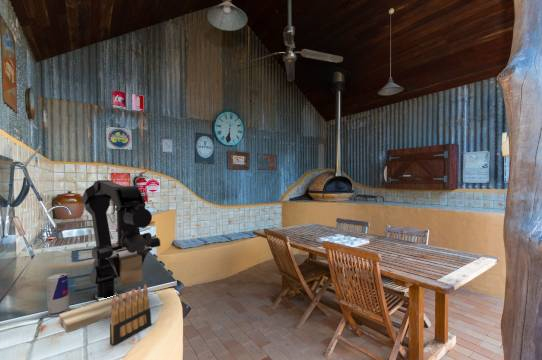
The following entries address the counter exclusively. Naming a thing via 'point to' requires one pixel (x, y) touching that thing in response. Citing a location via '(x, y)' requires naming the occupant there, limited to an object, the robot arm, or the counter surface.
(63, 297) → the energy drink
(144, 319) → the ammunition clip
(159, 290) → the counter surface
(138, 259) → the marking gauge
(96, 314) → the maple board
